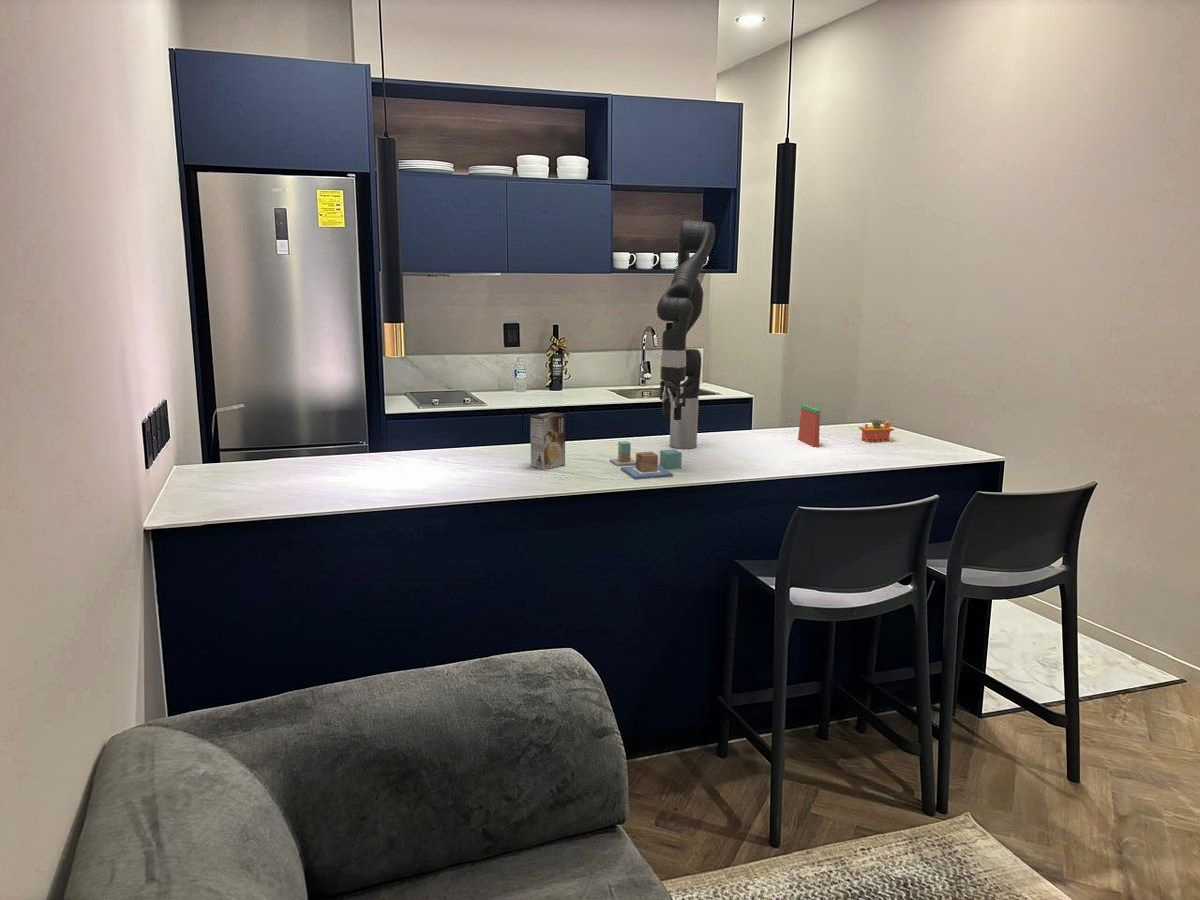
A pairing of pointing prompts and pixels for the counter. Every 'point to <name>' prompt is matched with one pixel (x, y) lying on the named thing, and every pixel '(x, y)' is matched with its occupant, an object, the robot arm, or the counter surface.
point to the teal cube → (670, 459)
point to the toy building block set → (812, 426)
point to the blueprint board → (646, 473)
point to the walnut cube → (646, 462)
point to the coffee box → (547, 440)
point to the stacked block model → (623, 455)
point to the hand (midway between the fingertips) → (671, 417)
